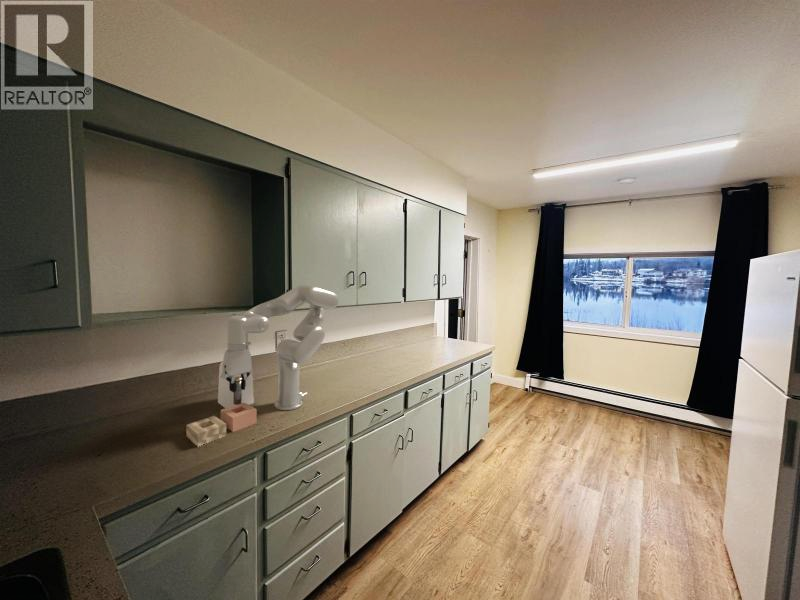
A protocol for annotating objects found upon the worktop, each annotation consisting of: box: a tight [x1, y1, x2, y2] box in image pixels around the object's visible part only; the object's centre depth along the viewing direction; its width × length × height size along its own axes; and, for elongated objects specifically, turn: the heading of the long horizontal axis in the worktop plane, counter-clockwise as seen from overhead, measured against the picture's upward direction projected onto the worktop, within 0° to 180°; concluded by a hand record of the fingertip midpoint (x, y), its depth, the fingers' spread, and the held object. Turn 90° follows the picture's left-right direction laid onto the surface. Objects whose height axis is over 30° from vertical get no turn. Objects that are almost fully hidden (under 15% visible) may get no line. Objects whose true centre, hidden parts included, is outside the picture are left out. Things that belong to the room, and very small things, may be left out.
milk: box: [217, 360, 255, 409], centre depth 153 cm, size 12×12×26 cm
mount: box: [185, 415, 227, 448], centre depth 124 cm, size 10×10×5 cm
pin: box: [233, 376, 243, 405], centre depth 134 cm, size 4×4×11 cm
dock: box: [220, 403, 258, 433], centre depth 135 cm, size 10×10×6 cm
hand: (237, 389), depth 134 cm, fingers closed on pin, 3 cm apart
